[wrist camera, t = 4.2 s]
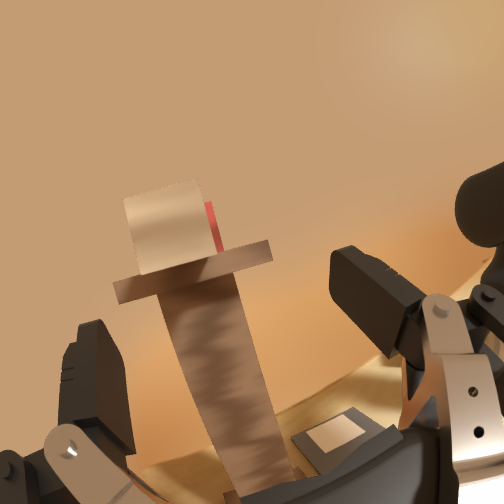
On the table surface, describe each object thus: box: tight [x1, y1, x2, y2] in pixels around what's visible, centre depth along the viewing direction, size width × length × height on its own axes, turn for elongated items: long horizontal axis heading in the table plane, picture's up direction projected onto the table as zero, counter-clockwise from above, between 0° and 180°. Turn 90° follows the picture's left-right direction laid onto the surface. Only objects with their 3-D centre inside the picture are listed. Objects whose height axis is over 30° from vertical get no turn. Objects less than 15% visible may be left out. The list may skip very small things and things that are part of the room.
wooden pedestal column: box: [113, 240, 306, 504], centre depth 25 cm, size 11×11×32 cm
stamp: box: [124, 178, 224, 275], centre depth 20 cm, size 19×6×4 cm, turn 10°
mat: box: [291, 407, 385, 475], centre depth 34 cm, size 12×16×1 cm
